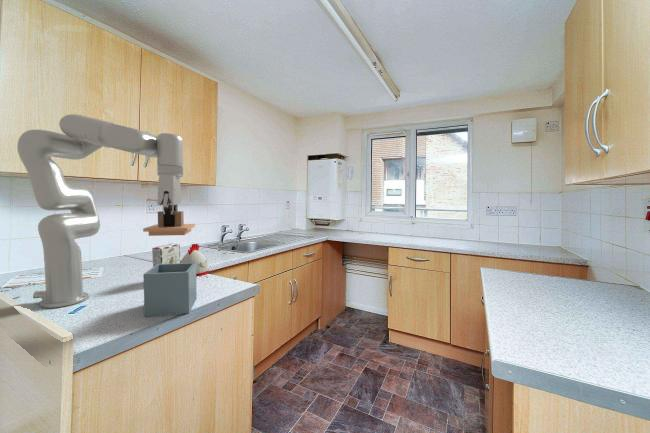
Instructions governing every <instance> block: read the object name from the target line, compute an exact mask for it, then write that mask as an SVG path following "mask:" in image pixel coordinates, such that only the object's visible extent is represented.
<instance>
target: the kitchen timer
mask: <svg viewBox="0 0 650 433" xmlns="http://www.w3.org/2000/svg"><path fill="white" fill-rule="evenodd" d="M199 250H200V245H199V243H193V244H192V243H191V246H190V247H189V249H187V252H186V253H185V255H184V256H183V257H182V258H181V259H180V263H196V278H198V277H197V276H199V277H203V276H202V275H204V276H206V275H208V274H209V273H210V267H209V260H208V259H207V258H206V257H205V256H204V254H203V253H202V252H200V251H199Z"/></svg>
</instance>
